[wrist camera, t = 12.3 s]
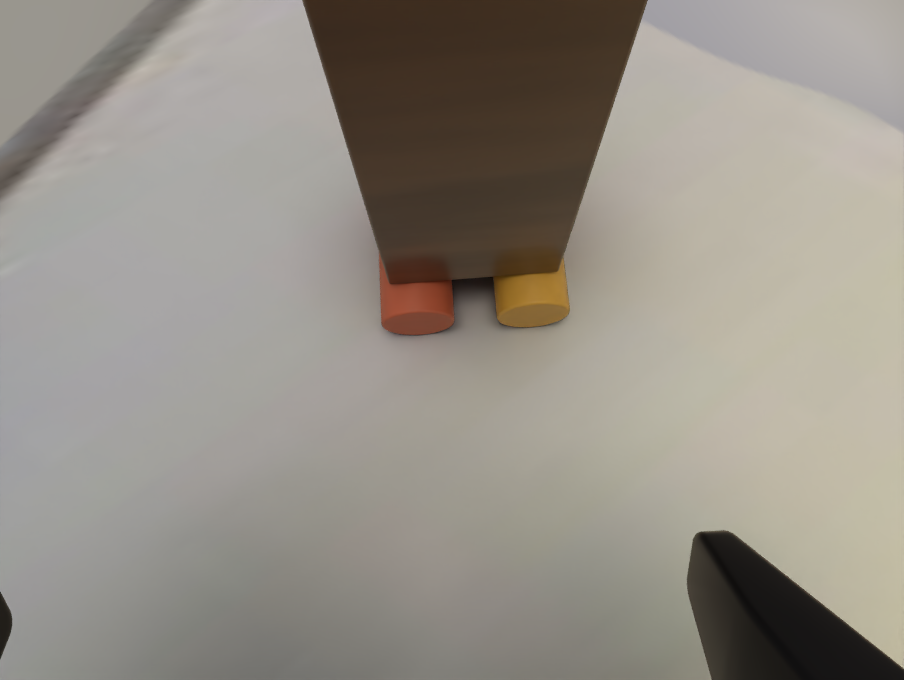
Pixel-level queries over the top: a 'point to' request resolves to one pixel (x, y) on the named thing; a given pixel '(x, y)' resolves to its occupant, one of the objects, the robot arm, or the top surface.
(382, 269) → the twin coloured cylinders
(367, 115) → the bar
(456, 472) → the top surface
